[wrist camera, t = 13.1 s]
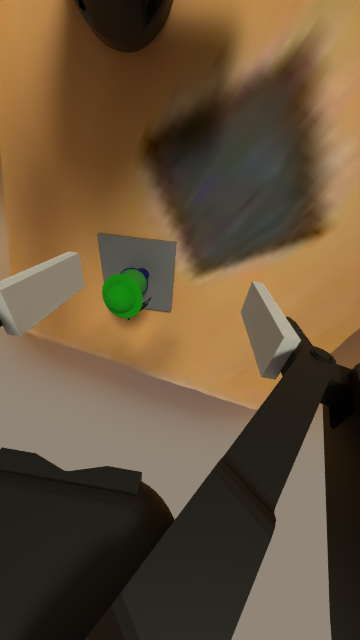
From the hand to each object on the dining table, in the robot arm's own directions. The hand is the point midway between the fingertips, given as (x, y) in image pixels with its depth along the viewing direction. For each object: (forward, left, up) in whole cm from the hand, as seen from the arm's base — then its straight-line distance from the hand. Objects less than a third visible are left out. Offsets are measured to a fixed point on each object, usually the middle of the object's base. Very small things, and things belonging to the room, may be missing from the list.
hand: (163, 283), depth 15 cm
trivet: (+12, -12, -32) cm, 36 cm away
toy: (+12, -11, -31) cm, 35 cm away
